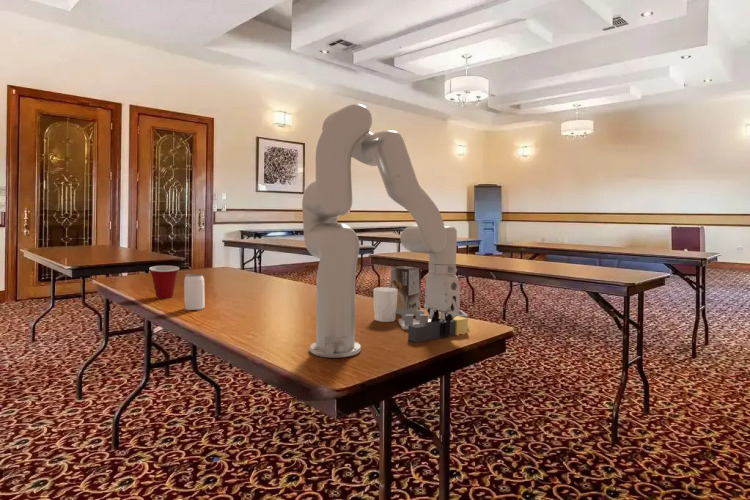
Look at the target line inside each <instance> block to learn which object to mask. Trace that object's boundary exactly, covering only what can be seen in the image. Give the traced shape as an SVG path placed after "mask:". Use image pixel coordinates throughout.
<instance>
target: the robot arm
mask: <svg viewBox="0 0 750 500" xmlns="http://www.w3.org/2000/svg"><path fill="white" fill-rule="evenodd" d="M372 125H373V117H372V113H371V111H370V110H369V108H367V106H365V105H363V104H360V103H353V104H349V105H346V106H345V107H342V108H340V109H339V110H337V111H335V112H333V113H331V114H329V115H328V116H327V117H325V119H324V120H323V123H322V129H321V130H322V132H321V133H320V136H319V138H318V140H317V145H316V148H315V181H313V182H311V183H310V184H309V185H308V186H307V187H306V188H305V190H304V193H303V196H302V200H301V201H302V202H301V203H302V204H301V205H302V207H301V209H302V210H301V211H302V222H303V223H302V225H303V227H302V228H303V239H304V243H305V244H304V245H305V248H306V250H307V251H308V252H309V254H311V256H312V257H315V258H316V259H319V263H318V268H317V273H316V325H315V326H316V333H315V334H316V339H315V342H313V343H311V344H310V346H309V351H310V353H311V354H313V355H315V356H318V357H322V358H331V359H340V358H347V357H352V356H356V355H358V354H359V353H360V352H361V349H362V348H361V347H362V346H361V344H360V343H359V342H357V341H355V340H356V339H355V338H356V336H355V335H356V277H357V275H356V274H357V264H358V259H359V253H360V239H359V236H358V234H357V232H355V230H354V229H353V228H352V227H351V226H349V225H347V224H345V223H340V222H338V218H342V217H343V216H346V215H347V214H348V213H349V212H350V210H351V209H352V206H353V189H352V188H353V187H352V186H353V184H352V183H353V182H352V159H354V160H356V161H358V162H360V163H363V164H365V165H366V166H369V167H377V169H378V171H379V174H380V176H381V180H382V182H383V185H384V188H385V191H386V193H387V196H388V197H389V198H390V199H391V200H392V201H393V202H395V203H397V204H398V205H399V206H401V207H403V208H404V209H405V210H406V211H407V212H408V213H409V214H410V215H411V216H412V218H413V219H414V221H415V223H416V224H412V225H409V226H406V227H405V228H404V229H403V230H402V232H401V233H400V243H401V245H402V247H403V248H404V249H405V250H407V251H410V252H411V253H412V252H413V253H418V254H426V255H428V273H427V277H426V281H425V288H424V289H425V291H424V304H423V307H424V309H425V310H426V311H427V313H428V314H429V315H428V319H431V322H433V321H439V320H441V319H440V318H441V317H440V315H441V311H442V322H441V323H440V324H441V326H440V336H441V337H442V338H446V337H445V336H448V337H450V336H449V335H450V322H452V319H453V318H454V317H456V316H458V315H459V311H458V310H460V307H461V306H460V304H461V298H460V296H461V293H460V283H459V279H458V278H459V277H458V275H457V274H456V273H457V272H458V268H457V265H456V263H457V241H458V240H457V238H458V237H457V235H458V230H457V228H456V227H454V226H450V225H445V223H444V220H443V217H442V215H441V212H440V210H439V209H438V206H437V205H436V204H435V202H434V201H433V199H431V197H430V196H429V194H428V193H427V192H426V190H424V189H423V188H422V186H421V185H420V183H419V181H418V179H417V175H416V172H415V169H414V166H413V164H412V161H411V157H410V155H409V152H408V150H407V146H406V143H405V141H404V139H403V137H402V135H401V134H400V133H399V132H398V131H396V130H393V129H392V130H390V129H388V130H382V131H377V132H374V133H373V132H371V131H370V130H371V128H372ZM447 313H448V315H447V316H446V314H447Z"/></svg>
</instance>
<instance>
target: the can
mask: <svg viewBox="0 0 750 500" xmlns="http://www.w3.org/2000/svg"><path fill="white" fill-rule="evenodd" d="M183 283H184V289H183V290H184V291H183V292H184V309H185V310H186V311H188V310H196V311H201V309H202V310H204V309H205V305H206V303H205V301H206V299H205V277H204V276H203V274H202V273H190V274H189V273H188V274H187V273H186V274H185V277H184V280H183ZM203 308H204V309H203Z"/></svg>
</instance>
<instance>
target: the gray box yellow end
mask: <svg viewBox="0 0 750 500" xmlns="http://www.w3.org/2000/svg"><path fill="white" fill-rule="evenodd" d="M441 322H442V320H439V321H433V322H426V323H420V324H414V325H409V326H408V329H407V330H408V332H407V333H408V334H407V337H408V338H407V339H408V341H411V342H414V343H421V342H427V341H432V340H438V339H441V336H440V326H441V324H440V323H441ZM468 322H469V317H468V318H464V317H460V316H456V317H454V318H453V319H452V322H450V335H449V336H448V337H452V336H451V335H453V336H456V335H457V336H460V335H459V334H462V335H466V334H465V333H467V334H468V330H469V329H468V326H469V325H468V324H469V323H468ZM448 337H447V336H445V337H444V338H448Z"/></svg>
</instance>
